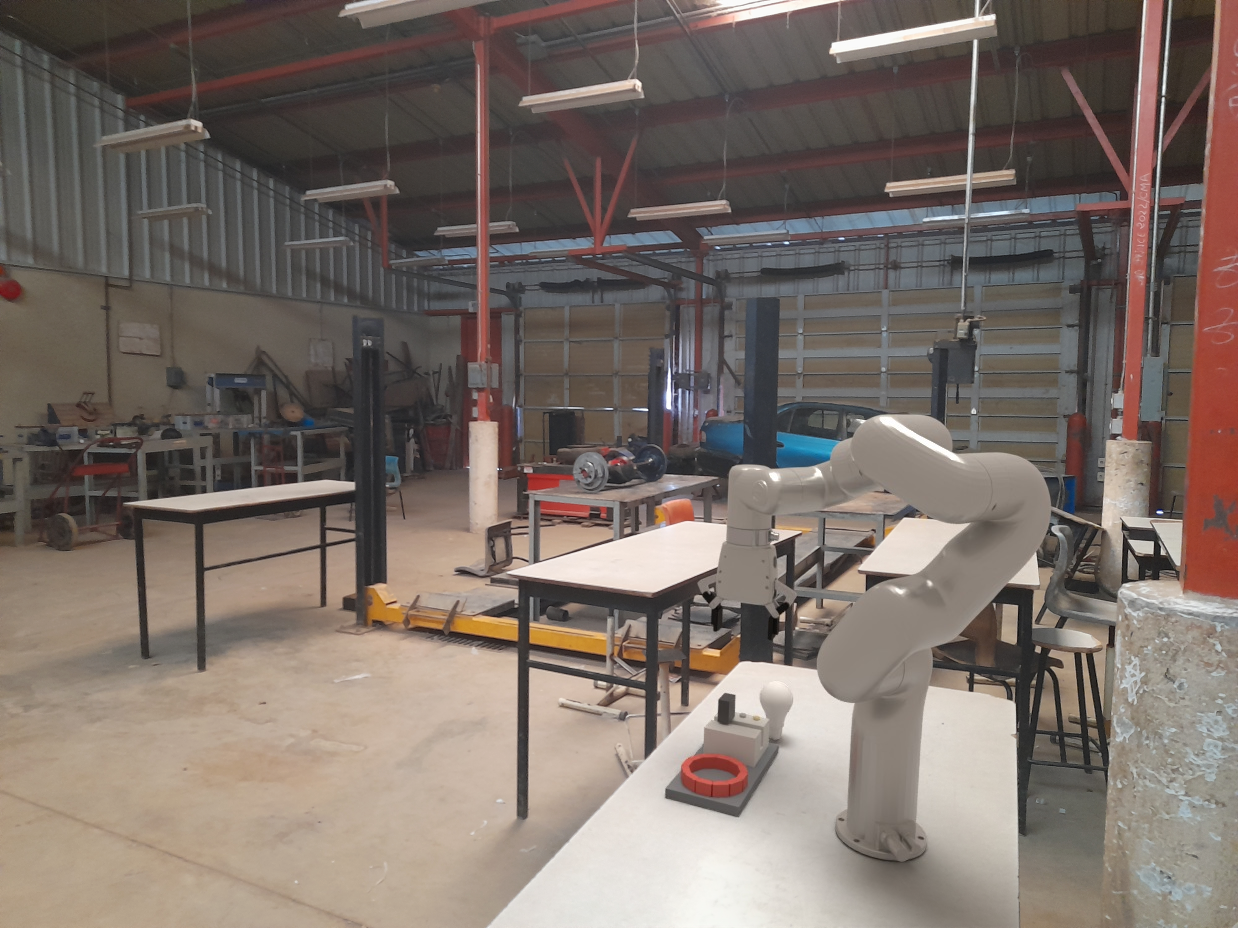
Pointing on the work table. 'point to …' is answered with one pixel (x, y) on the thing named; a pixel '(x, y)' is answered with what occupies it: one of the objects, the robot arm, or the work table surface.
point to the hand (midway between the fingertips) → (744, 633)
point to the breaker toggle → (726, 708)
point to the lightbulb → (776, 706)
